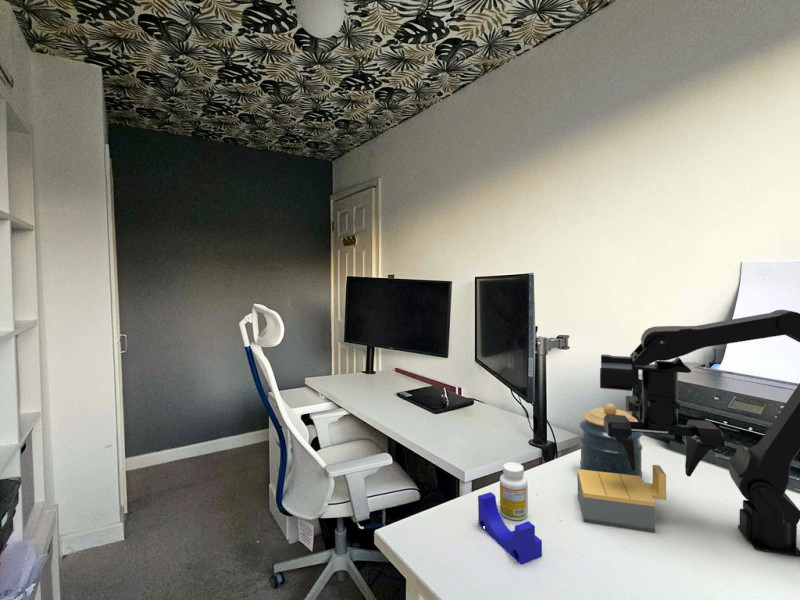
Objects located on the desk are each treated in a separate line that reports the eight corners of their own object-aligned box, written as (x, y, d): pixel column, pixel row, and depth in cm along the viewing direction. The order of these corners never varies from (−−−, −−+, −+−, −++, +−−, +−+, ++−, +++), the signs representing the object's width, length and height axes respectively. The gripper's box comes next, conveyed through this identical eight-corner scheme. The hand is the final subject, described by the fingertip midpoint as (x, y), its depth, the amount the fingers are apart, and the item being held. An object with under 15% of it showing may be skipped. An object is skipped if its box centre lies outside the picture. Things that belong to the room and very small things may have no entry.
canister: (599, 459, 102) (599, 392, 101) (653, 480, 91) (653, 405, 90) (568, 473, 95) (568, 401, 94) (622, 498, 84) (622, 417, 83)
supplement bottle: (507, 502, 83) (506, 458, 83) (532, 511, 80) (531, 465, 80) (495, 514, 79) (494, 467, 79) (521, 524, 76) (520, 475, 75)
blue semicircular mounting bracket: (542, 557, 67) (541, 523, 67) (521, 565, 65) (520, 531, 65) (497, 519, 78) (496, 490, 78) (478, 525, 76) (478, 495, 76)
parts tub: (640, 503, 82) (640, 479, 82) (655, 532, 72) (655, 506, 72) (577, 495, 86) (577, 472, 85) (583, 522, 76) (583, 497, 76)
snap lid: (654, 486, 81) (654, 458, 81) (671, 514, 71) (671, 483, 71) (577, 477, 85) (577, 451, 85) (583, 502, 76) (583, 472, 76)
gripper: (699, 384, 80) (699, 459, 81) (598, 380, 86) (599, 450, 87) (726, 400, 69) (725, 487, 70) (608, 394, 75) (609, 474, 76)
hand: (659, 472), depth 76 cm, fingers open, 9 cm apart
